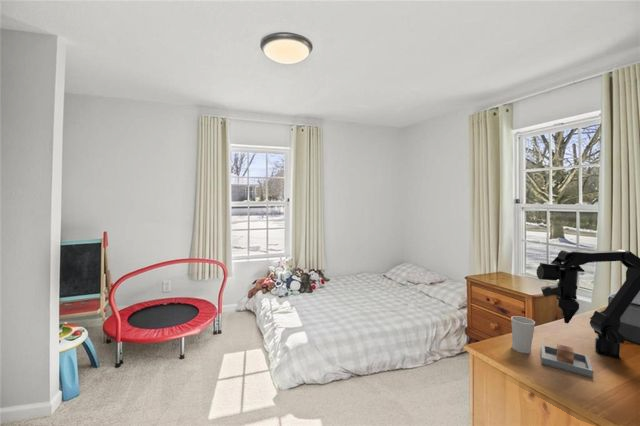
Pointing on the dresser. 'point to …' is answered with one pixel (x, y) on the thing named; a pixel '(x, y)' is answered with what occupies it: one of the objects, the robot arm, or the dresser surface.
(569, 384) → the dresser surface
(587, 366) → the tray
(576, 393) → the dresser surface
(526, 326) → the cup
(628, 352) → the dresser surface
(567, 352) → the block
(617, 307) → the robot arm
